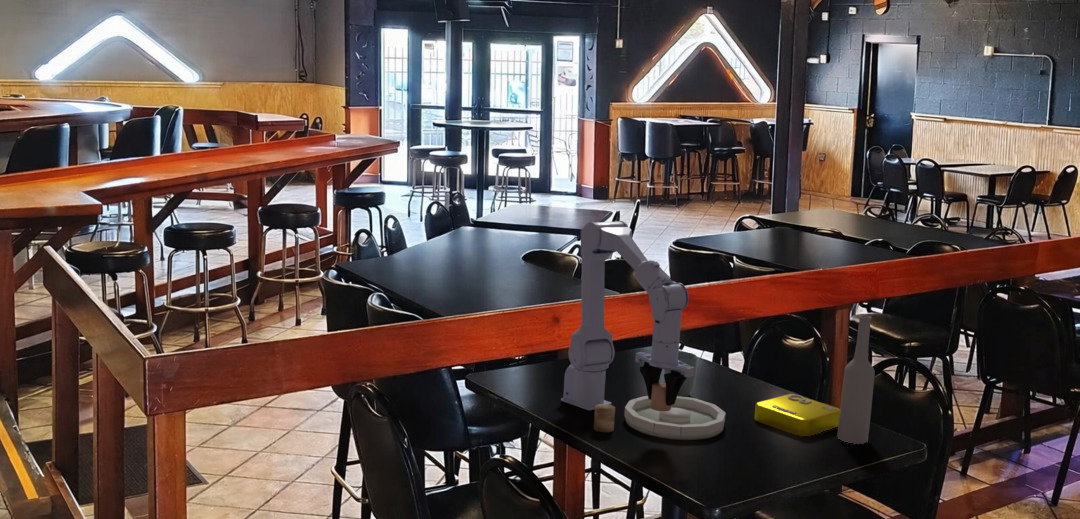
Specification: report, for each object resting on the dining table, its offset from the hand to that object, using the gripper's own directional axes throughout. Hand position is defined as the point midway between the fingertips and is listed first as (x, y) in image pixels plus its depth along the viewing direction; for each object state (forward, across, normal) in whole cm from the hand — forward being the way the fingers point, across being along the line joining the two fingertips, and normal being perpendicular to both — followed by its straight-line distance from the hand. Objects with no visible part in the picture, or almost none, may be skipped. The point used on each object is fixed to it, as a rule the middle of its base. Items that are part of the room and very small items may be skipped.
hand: (661, 401), depth 224 cm
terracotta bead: (+1, 0, 0) cm, 1 cm away
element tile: (+9, +12, +35) cm, 38 cm away
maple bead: (+8, -12, -5) cm, 15 cm away
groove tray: (+8, -5, +11) cm, 15 cm away
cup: (+9, -18, +29) cm, 35 cm away
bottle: (+9, +26, +35) cm, 45 cm away
